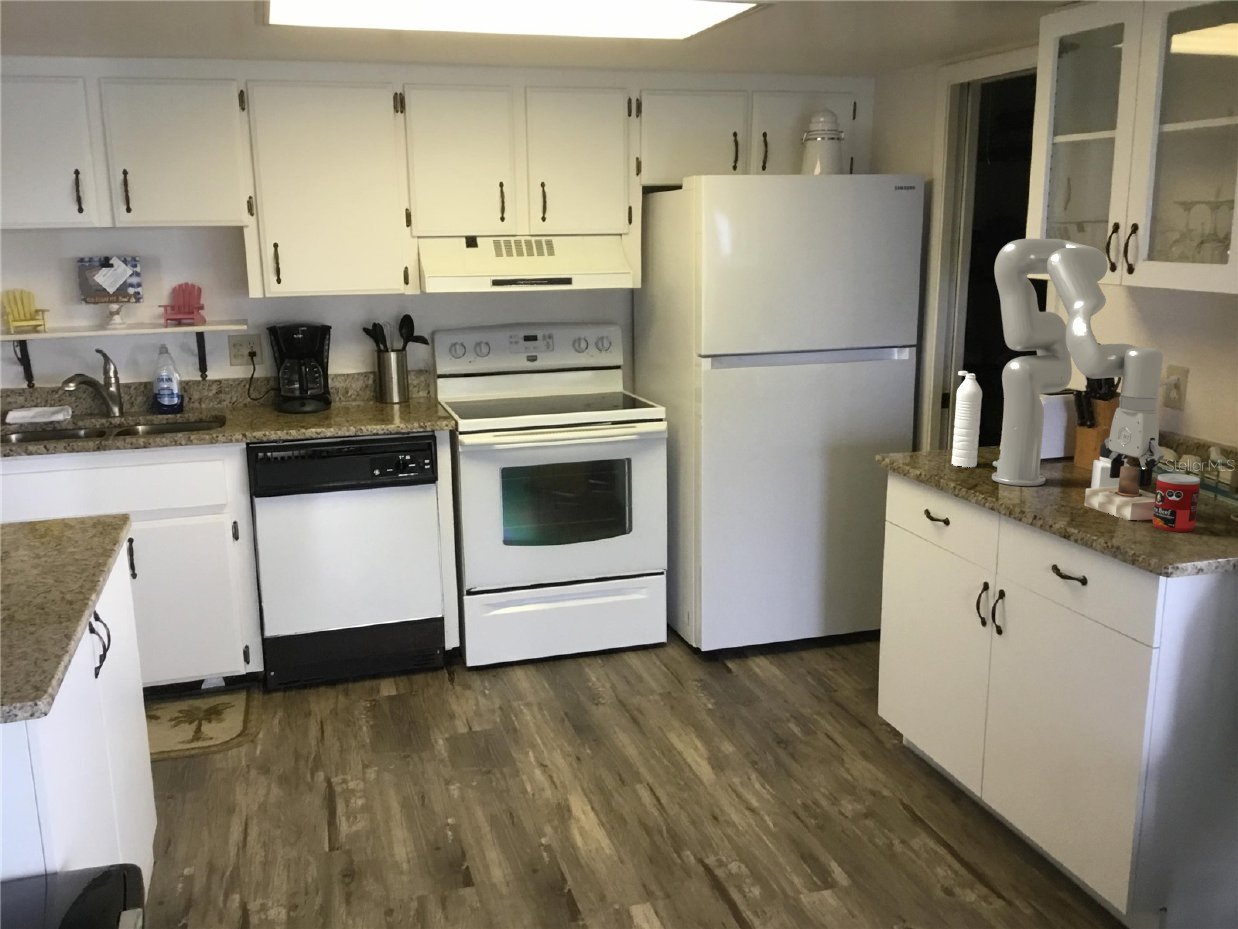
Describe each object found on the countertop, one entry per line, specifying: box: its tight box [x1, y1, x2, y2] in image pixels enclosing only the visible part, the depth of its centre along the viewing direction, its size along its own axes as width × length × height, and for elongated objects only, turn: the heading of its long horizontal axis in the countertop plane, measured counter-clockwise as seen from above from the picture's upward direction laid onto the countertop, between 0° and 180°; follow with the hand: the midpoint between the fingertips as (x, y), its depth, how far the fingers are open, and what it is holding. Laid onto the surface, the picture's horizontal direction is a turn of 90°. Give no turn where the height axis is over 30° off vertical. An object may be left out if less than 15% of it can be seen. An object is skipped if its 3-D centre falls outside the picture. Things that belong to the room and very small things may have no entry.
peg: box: [1117, 465, 1142, 497], centre depth 231 cm, size 4×4×10 cm
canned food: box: [1152, 473, 1201, 533], centre depth 218 cm, size 8×8×11 cm
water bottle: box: [951, 370, 983, 469], centre depth 277 cm, size 9×6×25 cm
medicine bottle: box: [1090, 442, 1131, 488], centre depth 248 cm, size 7×7×12 cm
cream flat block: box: [1084, 486, 1156, 521], centre depth 231 cm, size 14×11×4 cm
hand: (1129, 481), depth 230 cm, fingers open, 7 cm apart
